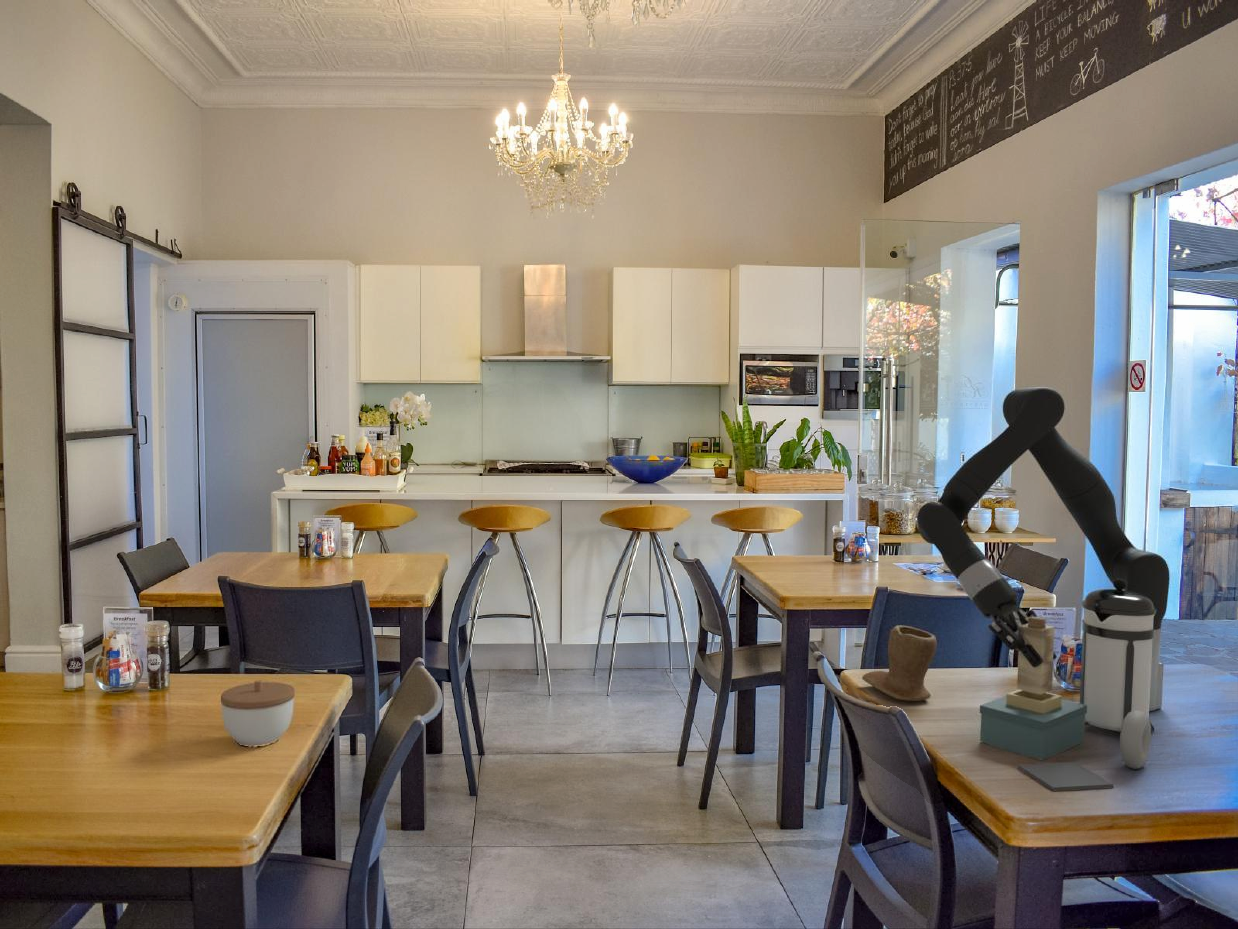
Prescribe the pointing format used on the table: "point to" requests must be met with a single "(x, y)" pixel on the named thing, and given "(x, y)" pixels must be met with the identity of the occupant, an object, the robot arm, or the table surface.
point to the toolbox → (1033, 723)
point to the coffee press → (1116, 655)
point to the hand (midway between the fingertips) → (1045, 662)
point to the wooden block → (1043, 643)
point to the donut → (1135, 739)
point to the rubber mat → (1065, 776)
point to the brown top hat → (905, 664)
